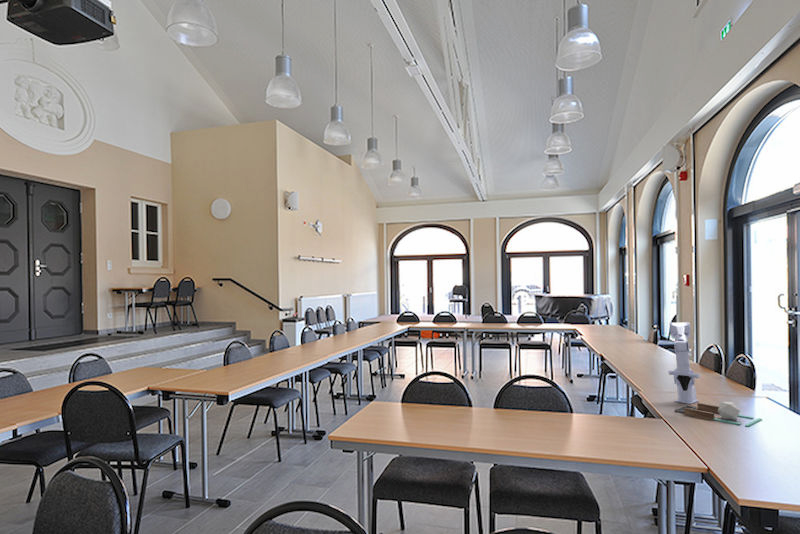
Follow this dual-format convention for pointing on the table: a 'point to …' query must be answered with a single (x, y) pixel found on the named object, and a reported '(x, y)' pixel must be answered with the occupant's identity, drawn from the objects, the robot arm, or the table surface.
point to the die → (728, 410)
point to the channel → (701, 413)
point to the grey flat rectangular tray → (683, 408)
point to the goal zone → (740, 423)
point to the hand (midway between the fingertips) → (685, 390)
